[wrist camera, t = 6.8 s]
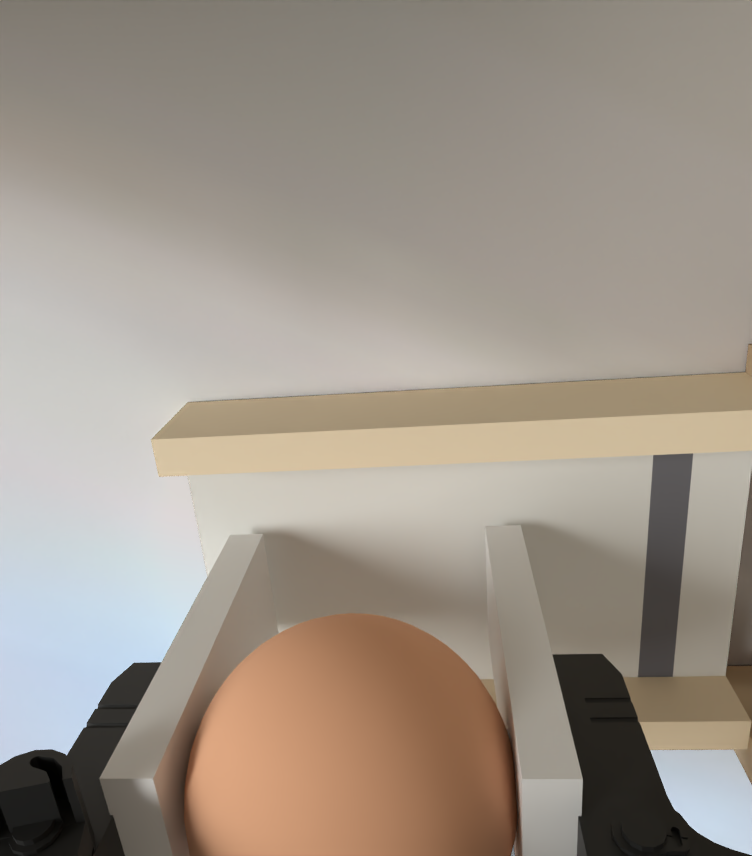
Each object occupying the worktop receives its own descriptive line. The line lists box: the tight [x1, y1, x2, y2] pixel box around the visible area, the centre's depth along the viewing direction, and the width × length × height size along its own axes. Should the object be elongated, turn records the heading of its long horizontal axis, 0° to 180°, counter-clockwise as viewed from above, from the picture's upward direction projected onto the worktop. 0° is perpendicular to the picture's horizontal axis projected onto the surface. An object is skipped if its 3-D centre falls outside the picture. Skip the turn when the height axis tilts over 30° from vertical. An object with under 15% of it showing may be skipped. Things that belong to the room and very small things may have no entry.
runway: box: [151, 372, 752, 750], centre depth 15 cm, size 8×12×2 cm, turn 95°
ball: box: [184, 613, 517, 856], centre depth 11 cm, size 5×5×5 cm
